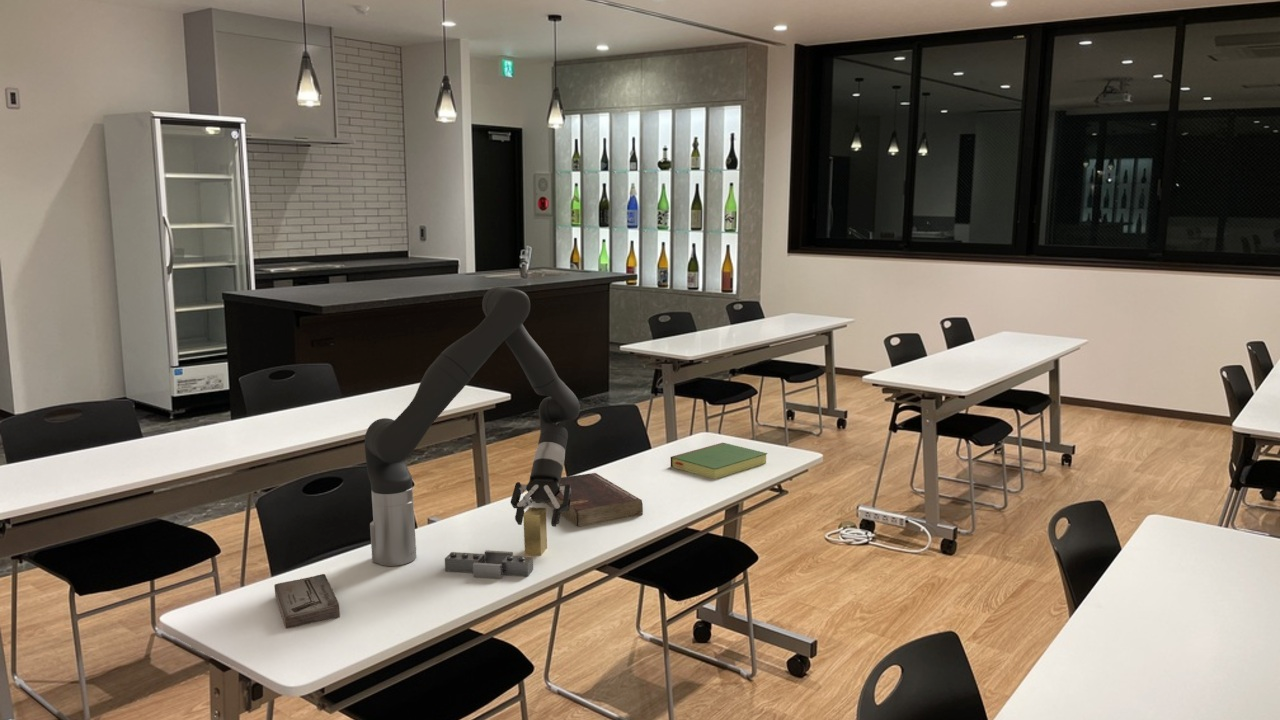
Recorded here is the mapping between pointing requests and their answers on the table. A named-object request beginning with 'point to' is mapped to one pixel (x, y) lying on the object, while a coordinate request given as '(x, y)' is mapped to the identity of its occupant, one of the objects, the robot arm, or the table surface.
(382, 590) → the table surface
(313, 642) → the table surface
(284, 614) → the box
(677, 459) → the hardcover book
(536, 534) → the brass rectangular block
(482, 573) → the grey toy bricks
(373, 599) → the table surface
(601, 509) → the hardback book
